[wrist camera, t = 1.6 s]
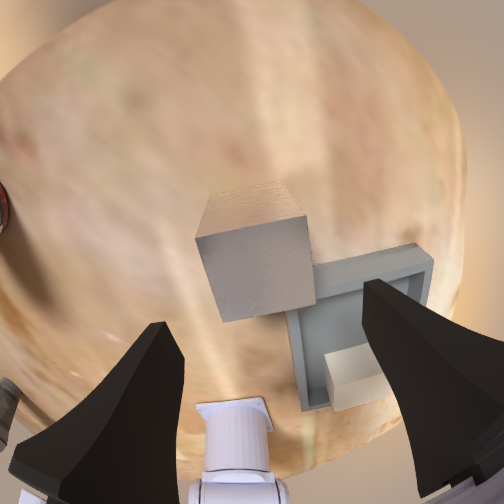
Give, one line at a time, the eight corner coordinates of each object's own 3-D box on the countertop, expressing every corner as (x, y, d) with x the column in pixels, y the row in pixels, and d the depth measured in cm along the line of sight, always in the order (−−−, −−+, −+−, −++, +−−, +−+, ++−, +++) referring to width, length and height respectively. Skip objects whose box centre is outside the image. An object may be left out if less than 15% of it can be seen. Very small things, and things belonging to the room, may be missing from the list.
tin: (292, 244, 20) (315, 304, 14) (226, 258, 20) (223, 322, 14) (281, 180, 18) (306, 215, 11) (209, 195, 18) (194, 238, 12)
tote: (394, 363, 27) (404, 381, 25) (297, 390, 28) (301, 411, 25) (414, 242, 20) (434, 259, 18) (277, 273, 21) (283, 297, 18)
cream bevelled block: (376, 368, 26) (388, 395, 23) (324, 383, 26) (333, 412, 23) (381, 338, 24) (397, 367, 20) (324, 354, 24) (334, 387, 21)
